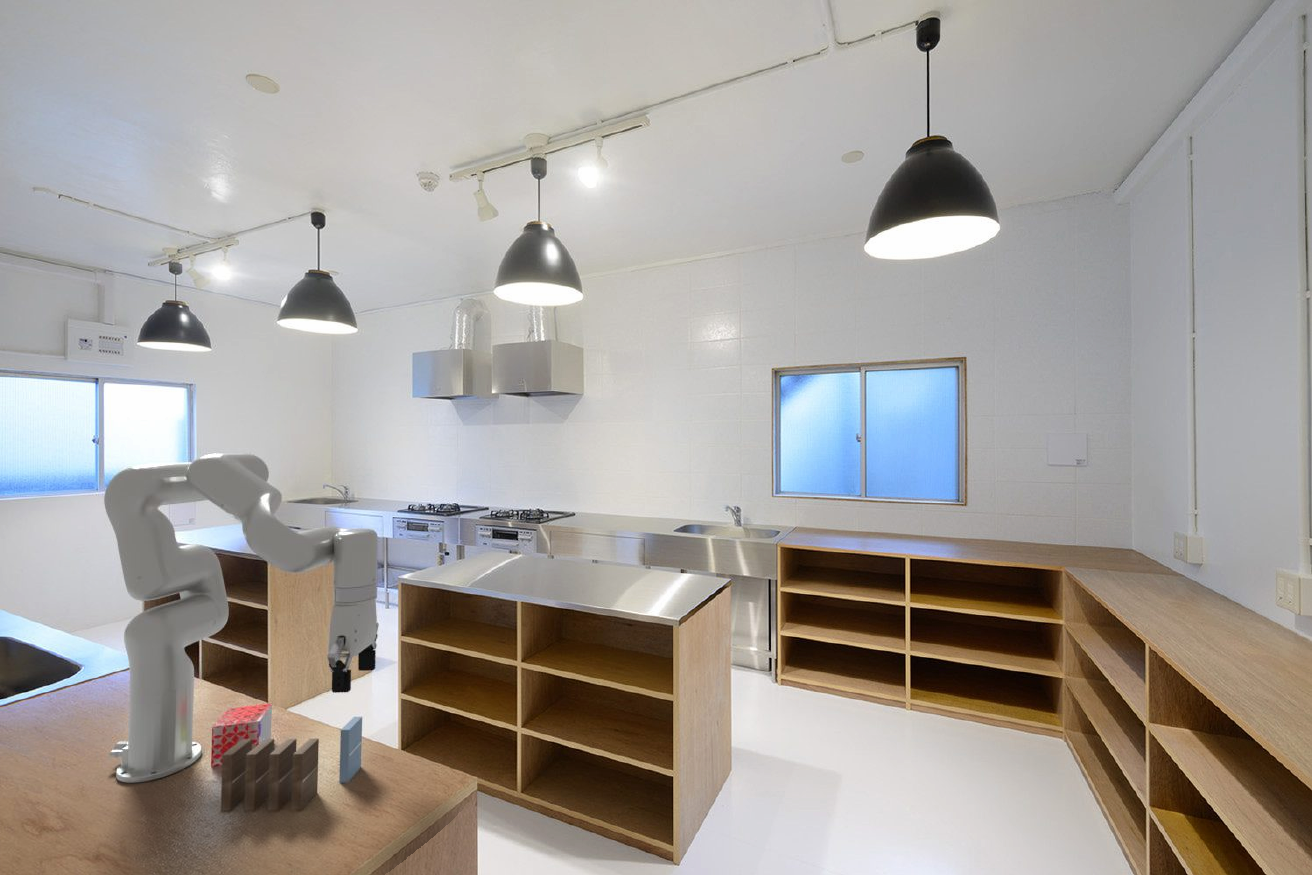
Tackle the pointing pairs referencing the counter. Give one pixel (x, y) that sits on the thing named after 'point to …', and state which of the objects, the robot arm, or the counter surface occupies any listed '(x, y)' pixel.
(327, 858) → the counter surface
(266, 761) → the domino
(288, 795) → the domino
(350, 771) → the domino
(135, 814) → the counter surface
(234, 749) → the domino
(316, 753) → the domino
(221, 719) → the red patterned cube
